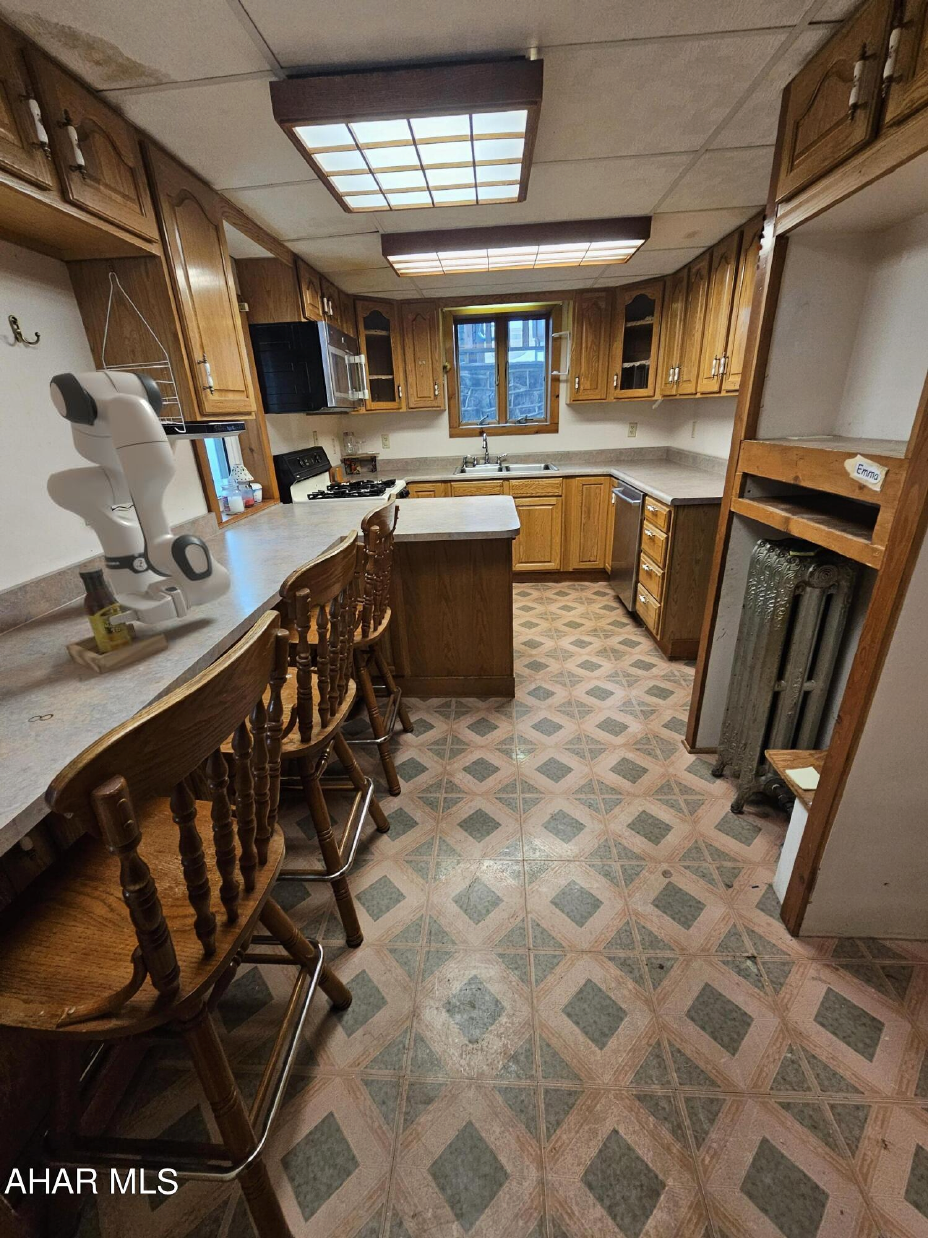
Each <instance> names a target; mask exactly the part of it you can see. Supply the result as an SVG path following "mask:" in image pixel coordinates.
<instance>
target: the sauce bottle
mask: <svg viewBox="0 0 928 1238" xmlns="http://www.w3.org/2000/svg"><path fill="white" fill-rule="evenodd" d="M78 576H79V578H80V579H81V580H82V583H83V586H84V589H85V591H86V594H85V596H84V601H83V605H84V609H85V612H86V616H87V618H88V622H89V625H90V628H91V630H92V632H93V636H95V639H96V642H97V645H98V648H99V650H100V651H99V652H100V653H101V655H103V654H106V653H109V652H111V651H114V650H117V649H119V648H122V647H125V646H128V645H130V644H133V641H132V639H131V637H130V634H129V631H128V628H127V622H124V623H119V624H116V625H112V624H109V623H108V620H107V617H109V616H112V615H115V614H116V615H118V614H122V610H121V607H120V604H119V602H118V601H117V600H116V598H115V597H114V596H113V595H112V593H111V592H110V591H109V589H108V588H107V585H106V583H105V580H104V572H103V569H102V568H101V567H92V568H87V569H82V570H80V571H78Z"/></svg>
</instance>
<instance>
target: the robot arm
mask: <svg viewBox="0 0 928 1238" xmlns="http://www.w3.org/2000/svg"><path fill="white" fill-rule="evenodd" d="M49 395H50V398H51V401H52V404H53V406H54V407H55V409H56V410H57V411H58V413H59V414H60V416H61V417H62V418H64V419H65V420H67V421H69V422H70V429H71V435H72V439H73V447H74V449H75V450H76V452H77V453H78V454H79V456H81V457H82V458H83V459H86V460H87V461H89V462H91V463H93V464H96V465H95V466H88V467H87V466H85V467H74V468H68V469H64V470H61V471H58V472H57V471H56V472H54V473H51V474H50V475H49V477H48V479H47V482H46V490H47V493H48V496H49V497H50V499H51V500H52V501H53V503H55V504H56V505H57V506H59V507H60V508H62V509H64V510H66V511H69V512H72V513H73V514H75V515H77V516H78V517H80V518H81V519H82V520H84V521H85V522H86V523H87V524H88V525H89V526H90V527H91V528H92V529H93V531H94V532H95V535H96V537H97V538H98V541H99V543H100V545H101V547H102V550H103V552H104V553H103V554H104V563H105V568H107V569H106V571H105V574H103V577H104V580H105V583H106V585H107V588H108V589H109V591H110V592H111V593H112V595H113V596H114V597H115V598H116V600H117V601H118V602H119V604H120V607H121V610H122V614H118V615H116V614H115V615H112V616H109V617H107V620H108V623H109V624H112V625H116V624H119V623H124V622H126V623H131V622H134V621H135V622H139V623H141V624H144V625H155V624H159V623H163V622H166V621H169V620H172V619H176V618H179V619H182V618H185V617H187V616H188V611H189V609H191V608H194V607H201V606H204V605H206V604H210V603H212V602H214V601H217V600H219V599H221V598H223V597H224V596H225V595H227V594H228V593H229V591H230V589H231V582H232V581H231V577H230V573H229V571H228V570H227V568H226V567H224V566H223V565H221V564H220V563H219V562H217V560H216V559H215V558H214V557H213V555H212V553H210V549H209V547H208V546H207V544H206V543H205V541H204V540H203V539H201V538H200V537H198V536H196V535H194V534H181V535H175V536H174V534H173V532H172V530H171V527H170V523H169V520H168V517H167V513H166V510H165V507H164V506H165V505H164V496H165V495H164V494H165V491H166V489H167V488H168V486H169V484H170V483H171V482H172V480H173V478H174V476H175V474H176V471H177V469H176V468H177V467H176V461H175V456H174V452H173V449H172V447H171V444H170V442H169V438H168V437H167V434H166V432H165V430H164V427H163V426H162V425H163V424H162V423H161V421H160V419H159V417H158V416H160V415H161V414H162V411H163V407H164V399H163V395H162V391H161V390H160V387H159V385H158V384H157V382H155V380H154V379H153V378H152V377H151V376H149V374H145V373H141V372H136V371H131V372H125V371H115V370H114V371H113V370H100V371H87V372H76V373H71V372H65V373H64V372H63V373H60V374H56V375H54V376H52V378H51V380H50V382H49ZM125 504H132V505H133V508H134V510H135V511H134V512H135V514H136V518H137V521H136V520H134V519H133V518H129V517H126V516H121V515H117V514H115V512H114V511H113V509H112V507H113V506H119V505H125Z"/></svg>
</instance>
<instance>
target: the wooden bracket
mask: <svg viewBox="0 0 928 1238" xmlns="http://www.w3.org/2000/svg"><path fill="white" fill-rule="evenodd" d="M126 625H127V628H128V631H129V634H130V637H131V640H132V639H133V638H134V637H136V638H138V634H137V631H136V629H135V626H134V625H135V624H134V623H131V622H129V623H126ZM134 639H135V638H134ZM134 639H133V640H134ZM65 648H66V650H67V653H68V654H69V657H70V659H71V660H72V661H75V662H76V663H78V664H80V665H83V666H84V667H87V668H89V669H91V670H94V671H95V672H97V673H100V674H102V675H103V674H106V673H108V672H111V671H114V670H116V669H118V668H121V667H124V666H125V665H128V664H131V663H134V662H136V661H138V660H142V659H144V658H146V657H149V656H151V655H153V654H156V653H159V652H161V651H164V650H167V649H168V648H169V647H168V643H167V641H166V637H165V634H164V633H162V632H161V633H157V634H155V635H151V636H149V637H146V638H145V639H142V640H138V641H136V642H134V643H133V642H132V644H130V645H128V646H125V647H122V648H119V649H117V650H114V651H111V652H109V653H106V654H103V655H102V654H101V655H100V654H98V653H97V652H100V650H99V648H98V645H97V642H96V639H95V636H94V635H92V636H90V637H89V636H88V637H86V638H82V639H79V640H77V641H74V642H71V643H68V644H66V645H65Z"/></svg>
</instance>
